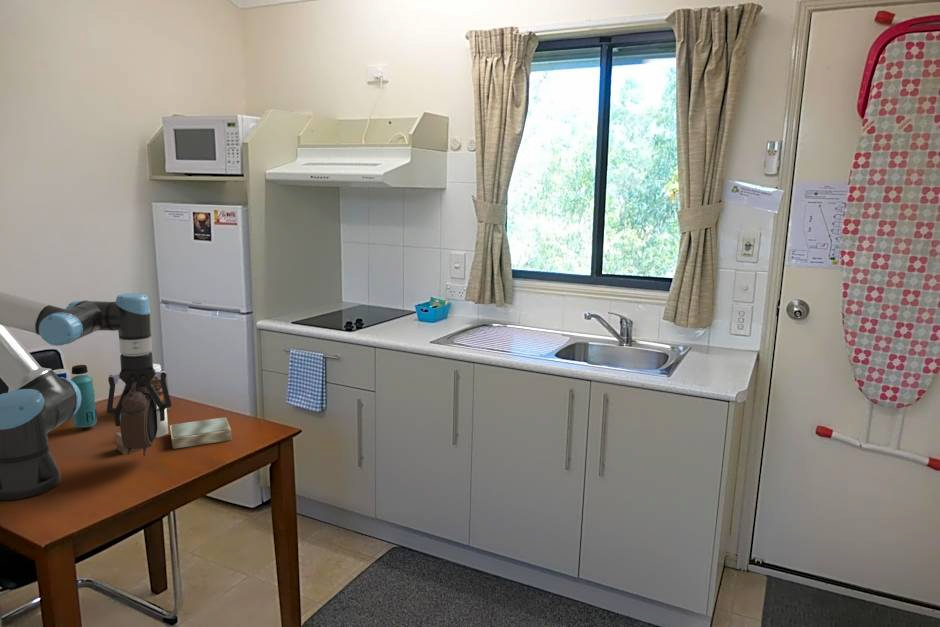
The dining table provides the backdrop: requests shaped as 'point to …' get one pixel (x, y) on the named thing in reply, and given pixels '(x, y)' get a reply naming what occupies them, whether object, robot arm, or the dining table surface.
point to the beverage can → (62, 373)
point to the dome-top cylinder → (163, 425)
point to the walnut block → (120, 444)
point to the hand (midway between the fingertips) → (141, 434)
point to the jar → (158, 384)
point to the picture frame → (200, 432)
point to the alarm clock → (138, 419)
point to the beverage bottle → (84, 398)
